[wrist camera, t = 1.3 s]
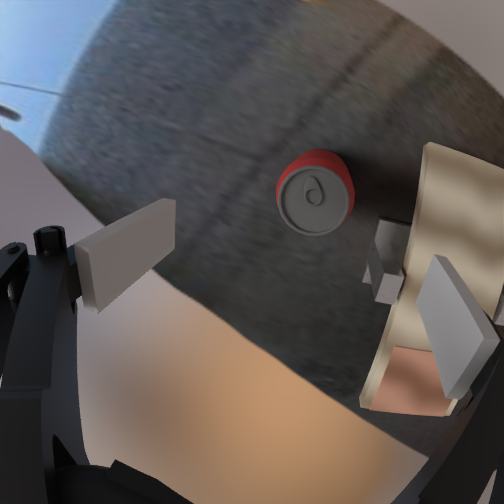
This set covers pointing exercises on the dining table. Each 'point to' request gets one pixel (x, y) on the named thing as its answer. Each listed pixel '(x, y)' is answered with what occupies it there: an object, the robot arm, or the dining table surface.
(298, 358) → the dining table surface
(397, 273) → the pivot stand
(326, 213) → the beer can
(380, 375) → the balance beam
